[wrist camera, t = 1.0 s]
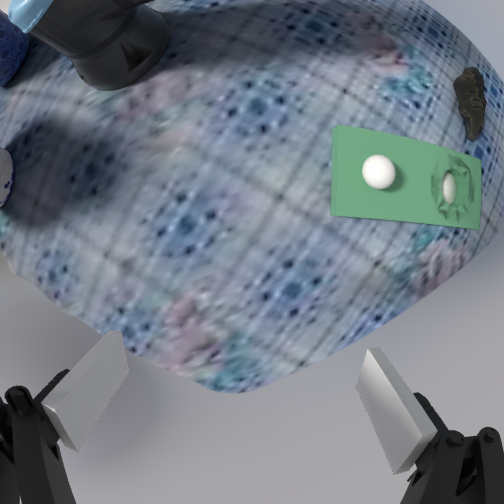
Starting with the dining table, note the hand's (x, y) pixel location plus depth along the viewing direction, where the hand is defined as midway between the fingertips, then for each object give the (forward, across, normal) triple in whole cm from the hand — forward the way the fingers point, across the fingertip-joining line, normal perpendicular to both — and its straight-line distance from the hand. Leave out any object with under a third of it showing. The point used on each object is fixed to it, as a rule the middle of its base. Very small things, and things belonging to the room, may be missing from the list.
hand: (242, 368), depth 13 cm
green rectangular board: (+22, +22, +13) cm, 33 cm away
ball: (+18, +14, +12) cm, 26 cm away
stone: (+23, +34, +29) cm, 50 cm away
